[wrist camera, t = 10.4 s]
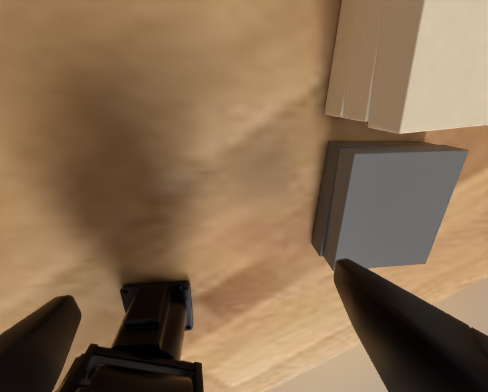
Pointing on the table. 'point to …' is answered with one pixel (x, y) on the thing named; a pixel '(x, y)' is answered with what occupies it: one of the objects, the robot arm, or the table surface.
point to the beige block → (354, 59)
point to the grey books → (384, 201)
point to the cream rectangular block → (431, 66)
